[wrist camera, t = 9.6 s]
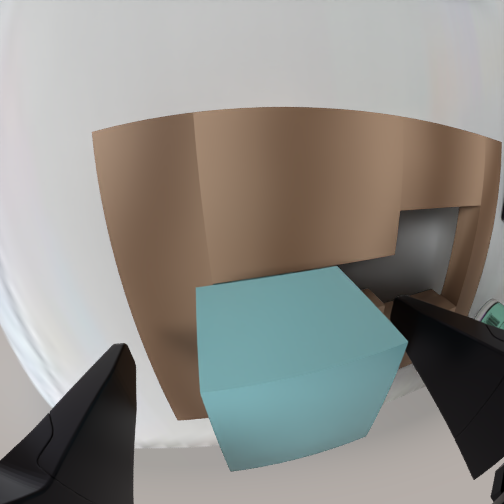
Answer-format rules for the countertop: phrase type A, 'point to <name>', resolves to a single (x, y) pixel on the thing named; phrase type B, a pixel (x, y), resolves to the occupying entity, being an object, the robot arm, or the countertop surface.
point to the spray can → (492, 314)
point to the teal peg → (292, 364)
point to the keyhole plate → (277, 209)
